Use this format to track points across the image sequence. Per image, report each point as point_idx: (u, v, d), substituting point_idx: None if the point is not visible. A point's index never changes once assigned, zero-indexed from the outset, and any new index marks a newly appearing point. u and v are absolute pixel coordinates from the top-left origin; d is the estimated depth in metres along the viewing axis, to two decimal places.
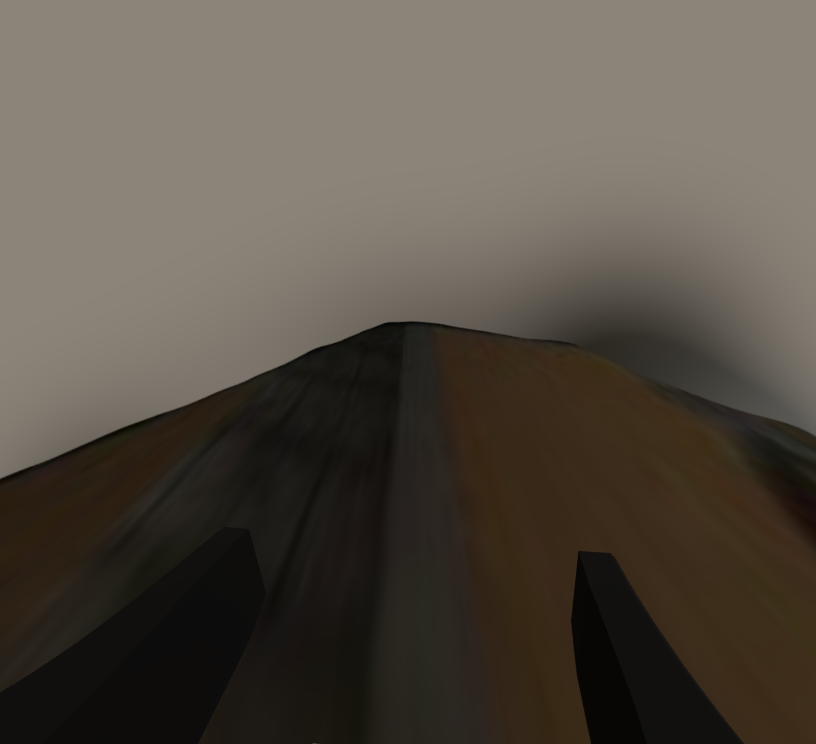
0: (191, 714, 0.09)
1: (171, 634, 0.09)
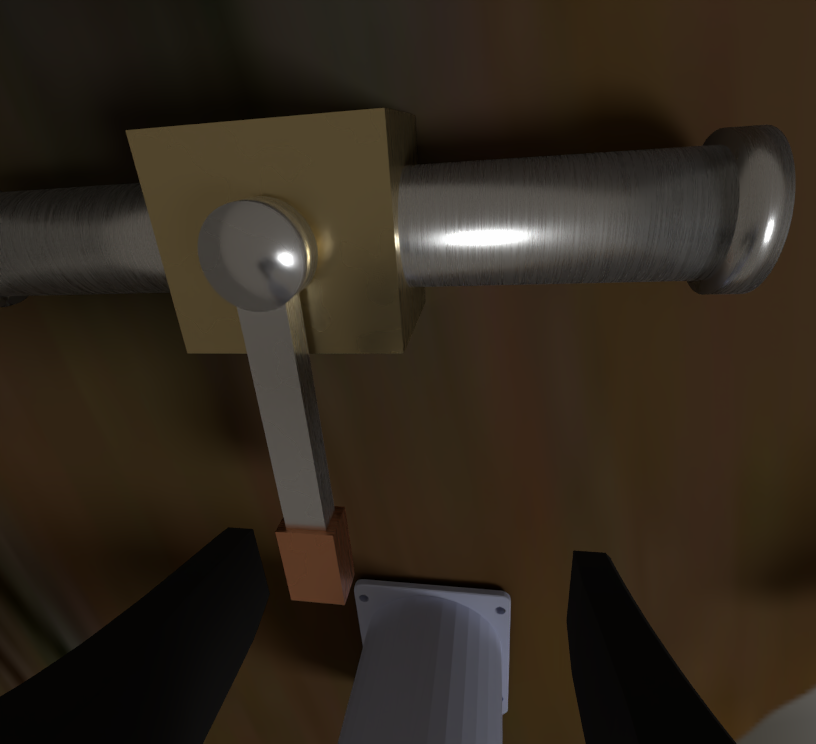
0: (196, 715, 0.09)
1: (176, 635, 0.09)
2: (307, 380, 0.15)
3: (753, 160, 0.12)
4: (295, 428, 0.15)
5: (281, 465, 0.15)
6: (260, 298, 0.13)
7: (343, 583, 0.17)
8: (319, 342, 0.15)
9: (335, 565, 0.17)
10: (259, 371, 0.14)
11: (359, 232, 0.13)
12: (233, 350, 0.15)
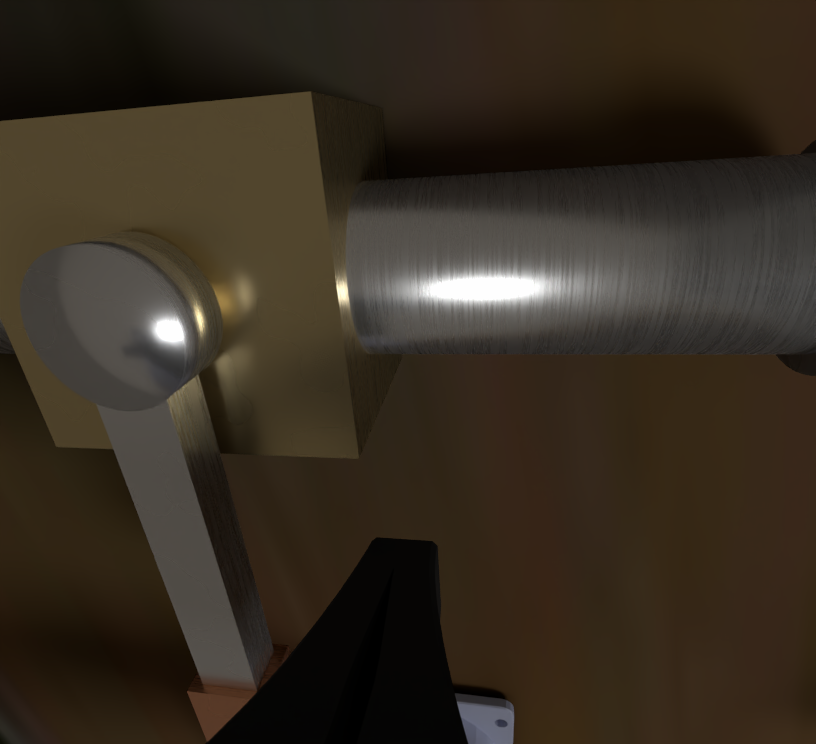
0: None
1: (367, 655, 0.08)
2: (217, 498, 0.10)
3: None
4: (201, 566, 0.10)
5: (187, 610, 0.11)
6: (126, 392, 0.08)
7: None
8: (237, 439, 0.10)
9: None
10: (140, 490, 0.09)
11: (284, 287, 0.09)
12: None
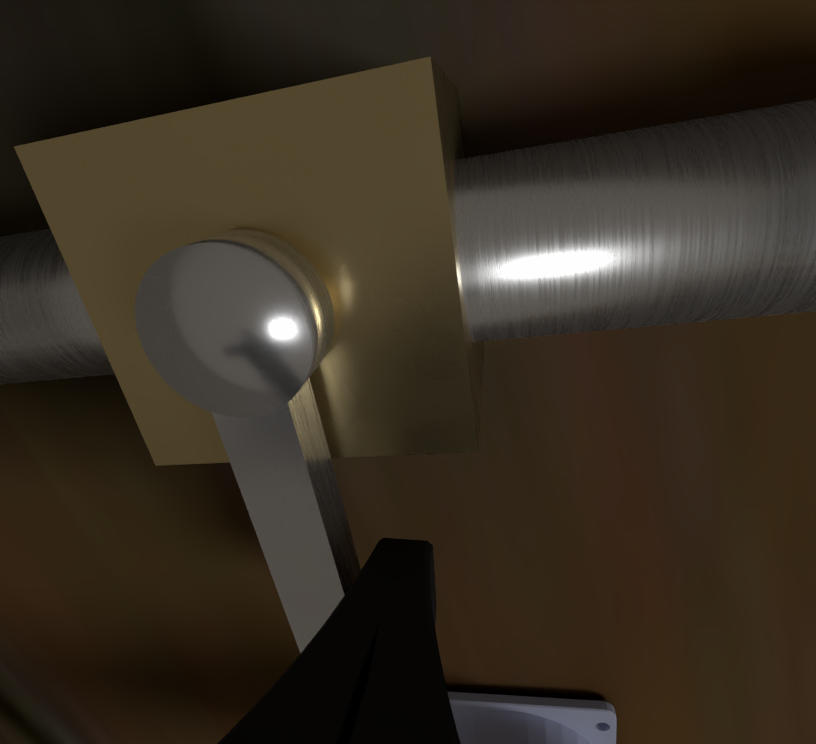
0: None
1: None
2: (332, 505, 0.09)
3: None
4: (320, 578, 0.10)
5: (304, 626, 0.10)
6: (246, 397, 0.08)
7: None
8: (346, 441, 0.10)
9: None
10: (257, 502, 0.09)
11: (398, 273, 0.08)
12: (220, 458, 0.10)
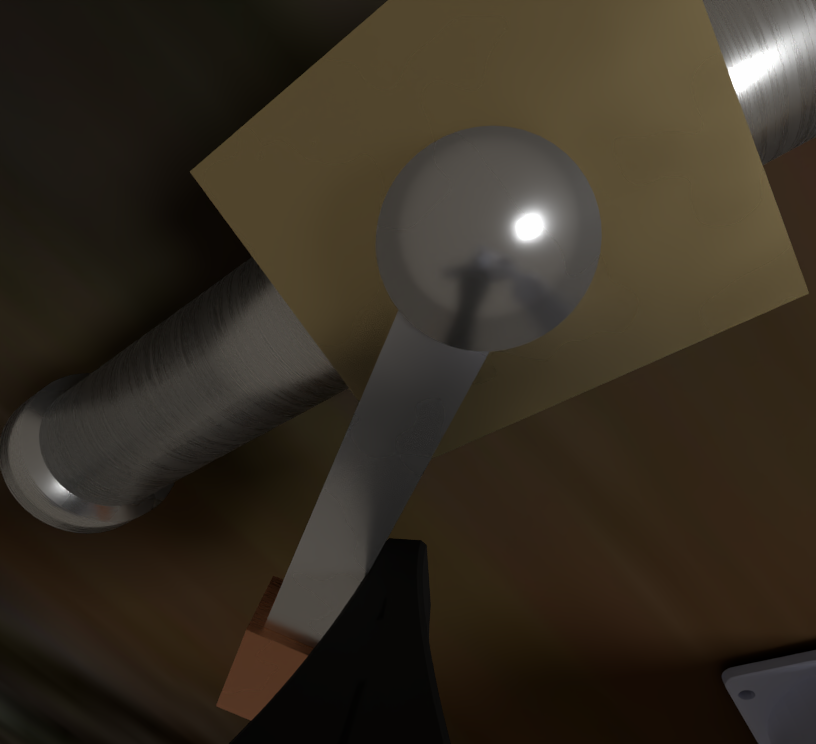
0: None
1: None
2: None
3: None
4: (371, 521, 0.09)
5: (312, 555, 0.09)
6: (455, 322, 0.07)
7: None
8: (626, 351, 0.08)
9: None
10: (367, 423, 0.08)
11: (646, 103, 0.06)
12: (478, 433, 0.09)
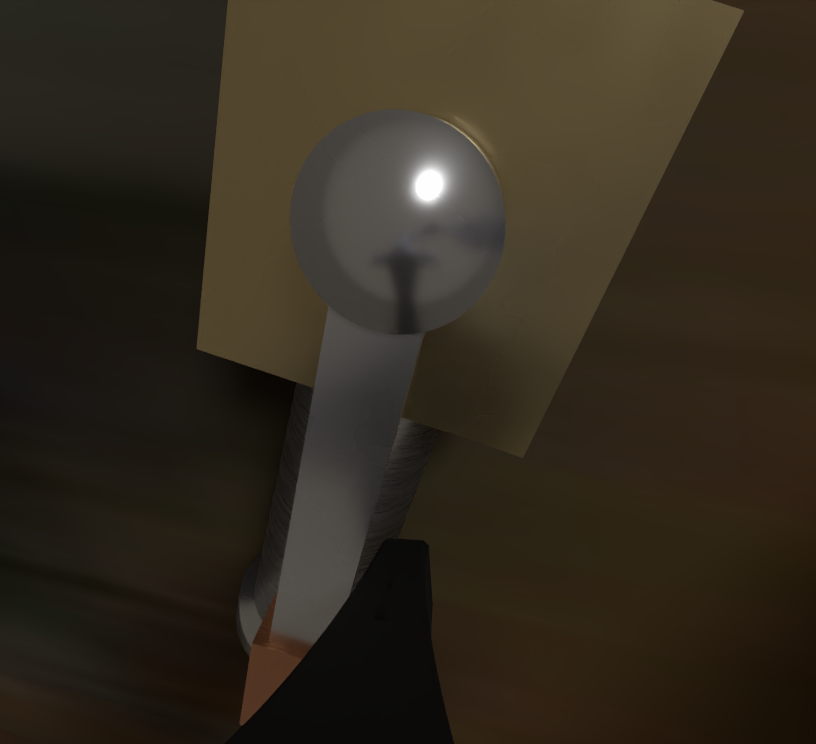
0: None
1: None
2: (391, 450, 0.09)
3: None
4: (348, 519, 0.09)
5: (299, 561, 0.09)
6: (383, 308, 0.07)
7: None
8: (616, 211, 0.07)
9: None
10: (324, 421, 0.08)
11: (441, 14, 0.06)
12: (553, 383, 0.08)
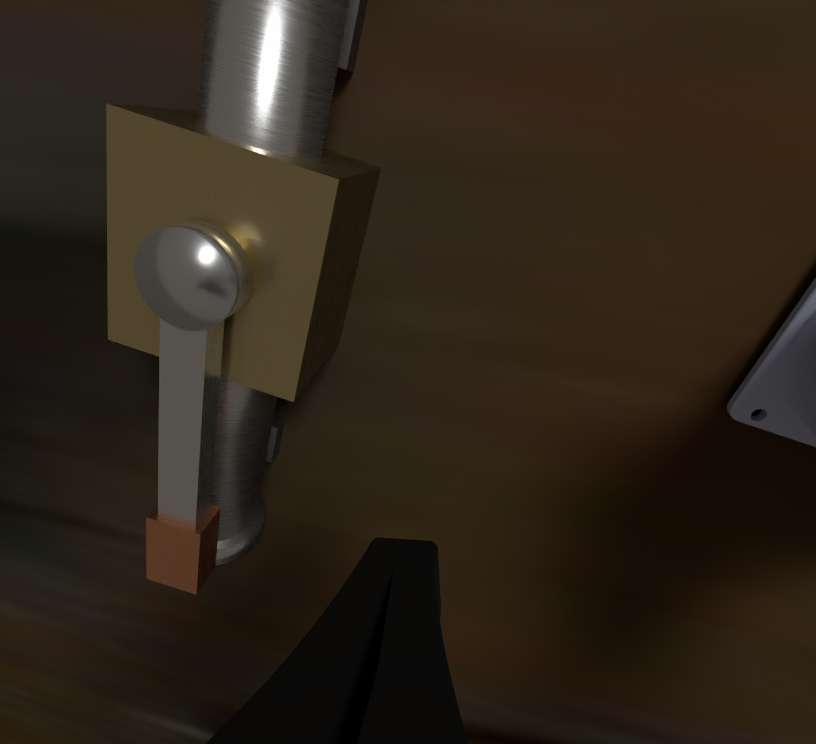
0: None
1: (367, 655, 0.08)
2: (211, 395, 0.15)
3: None
4: (189, 435, 0.16)
5: (167, 462, 0.16)
6: (184, 317, 0.14)
7: (200, 575, 0.18)
8: (308, 268, 0.14)
9: (196, 559, 0.18)
10: (167, 377, 0.15)
11: (207, 174, 0.13)
12: (299, 358, 0.15)
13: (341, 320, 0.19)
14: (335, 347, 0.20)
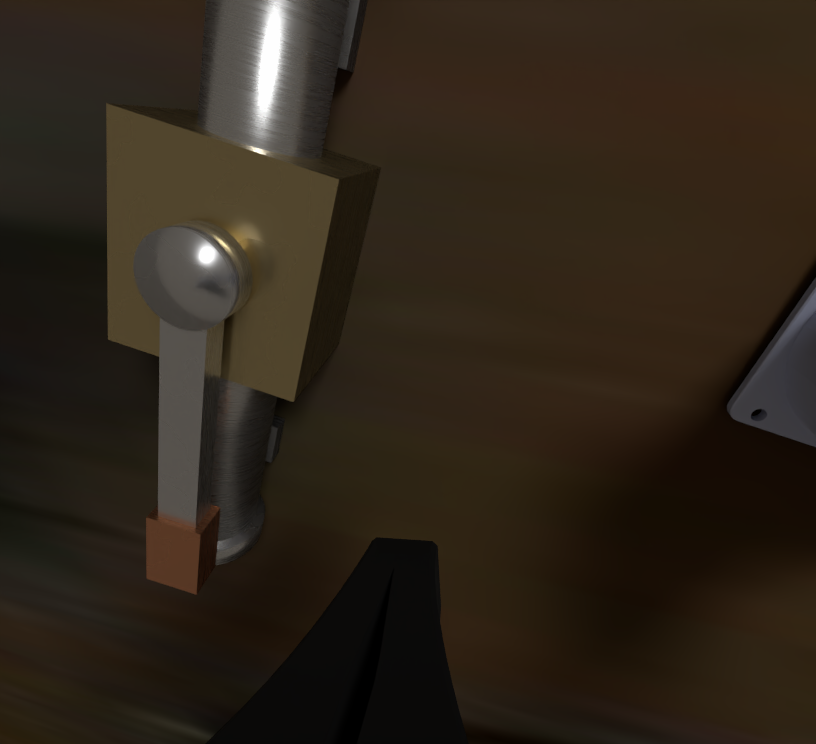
0: None
1: (367, 655, 0.08)
2: (211, 395, 0.15)
3: None
4: (189, 435, 0.16)
5: (167, 462, 0.16)
6: (184, 317, 0.14)
7: (200, 575, 0.18)
8: (307, 268, 0.14)
9: (196, 559, 0.18)
10: (167, 377, 0.15)
11: (207, 174, 0.13)
12: (299, 358, 0.15)
13: (341, 320, 0.19)
14: (335, 347, 0.20)
